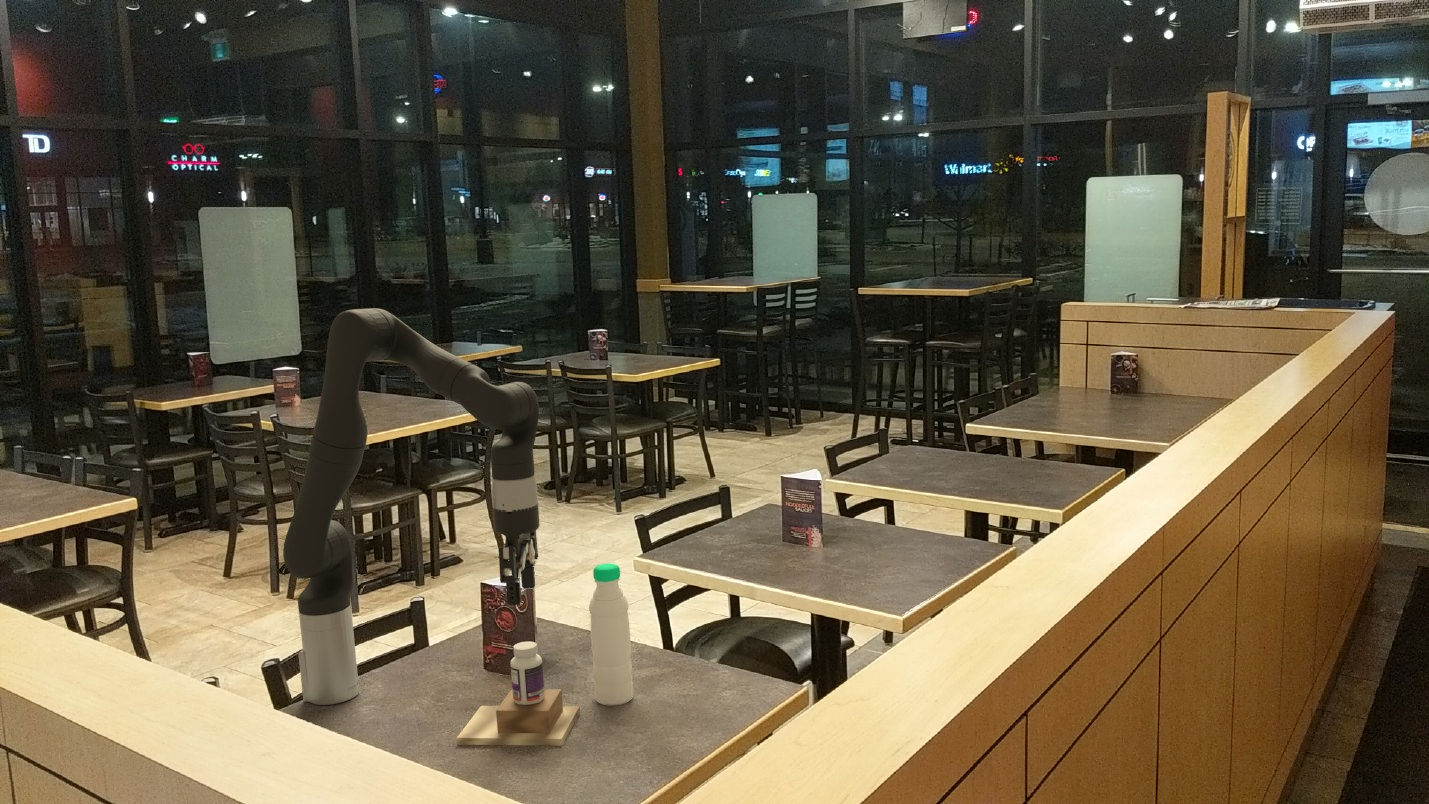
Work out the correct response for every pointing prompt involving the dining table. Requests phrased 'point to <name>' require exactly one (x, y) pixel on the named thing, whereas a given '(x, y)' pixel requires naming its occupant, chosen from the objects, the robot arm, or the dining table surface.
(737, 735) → the dining table surface
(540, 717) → the walnut block
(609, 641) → the water bottle
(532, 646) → the pill bottle
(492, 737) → the beech board
